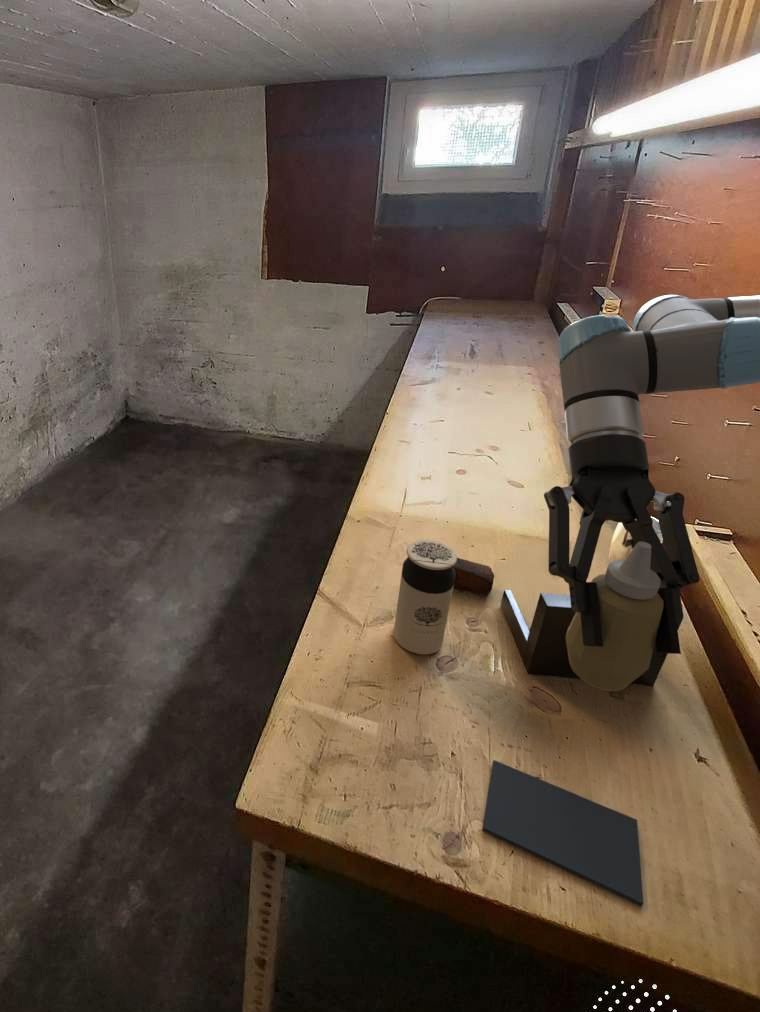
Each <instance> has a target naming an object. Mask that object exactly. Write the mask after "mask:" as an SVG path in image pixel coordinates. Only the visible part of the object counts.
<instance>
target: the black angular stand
mask: <svg viewBox="0 0 760 1012" xmlns="http://www.w3.org/2000/svg"><path fill="white" fill-rule="evenodd" d="M539 593H540V594H539V597H538V600H537V603H536V607H535V611H534V614H533V618H532V621H531V625H530V628H529V627H528V625H527V623H526V619H525V618H524V616H523V614H522V611H521V609H520V608H519V607H520V606H519V605H518V602H517V600H516V598H515V596H514V593H513V591H512V589H504V590H503V593H502V597H501V601H500V605H499V608H500V610H501V612H502V615H503V617H504V620H505V622H506V625H507V627H508V630H509V632H510V635H511V637H512V640H513V642H514V645H515V647H516V649H517V652H518V654H519V657H520V660H521V662H522V664H523V666H524V669H525V672H526V674H527V675H533V676H542V677H554V678H563V679H574V680H582V679H581V678H579V677H578V676H577V674H576V673H575V672H574V671H573V670H572V668H571V665H570V663H569V657H568V651H567V644H566V634H567V630H568V628H569V626H570V624H571V622H572V620H573V618H574V616H575V614H576V612H573V610H572V608H571V601H570V594H562V593H549V592H539ZM683 620H684V616H683V619H682V620H680V621H676V624H677V631H679V629H680V627H681V624H682V623H683ZM668 654H669V653H657V648H656V641H655V645H654V649H653V653H652V657H651V661H650V665H649V669H648V670H646V671H645V672H644V673H643V674H642V675H641V676H639V677H638V678H637V679H635V680H634V681H633V682H632V683H630V684H629V685H634V686H643V687H644V686H646V687H654V686H655V684H656V683H657V679H658V677H659V675H660V672H661V670H662V668H663V665H664V663H665V661H666V658H667V656H668Z"/></svg>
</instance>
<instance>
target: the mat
mask: <svg viewBox="0 0 760 1012" xmlns="http://www.w3.org/2000/svg"><path fill="white" fill-rule="evenodd" d="M486 798H487V799H486V805H485V811H484V817H483V823H482V828H481V829H482V832H485V833H487V834H489V835H491V836H492V837H495V838H498V839H499V840H502V841H503V842H506V843H508V844H510V845H512V846H514V847H516V848H518V849H521V850H523V851H524V852H526V853H529V854H531V855H533V856H535V857H537V858H539V859H541V860H543V861H546V862H547V863H550V864H552V865H553V866H556V867H559V868H561V869H562V870H565V871H566V872H569V873H571V874H573V875H575V876H576V877H579V878H581V879H583V880H585V881H587V882H590V883H591V884H593V885H596V886H598V887H600V888H602V889H604V890H606V891H608V892H611V893H612V894H615V895H617V896H619V897H621V898H623V899H625V900H628V901H629V902H632V903H634V904H636V905H638V906H640V907H642V906H643V905H644V894H643V893H644V892H643V881H642V868H641V855H640V840H639V828H638V820H637V819H636V818H633V817H631V816H630V815H627V814H625V813H621V812H619V811H617V810H614V809H613V808H609V807H607V806H605V805H603V804H600V803H598V802H595V801H593V800H591V799H588V798H586V797H584V796H581V795H578V794H576V793H575V792H571V791H569V790H566V789H564V788H562V787H559V786H558V785H555V784H552V783H550V782H548V781H545V780H543V779H541V778H538V777H535V776H533V775H531V774H528V773H527V772H524V771H521V770H519V769H517V768H514V767H511V766H509V765H507V764H504V763H502V762H500V761H498V760H495V759H493V761H492V765H491V773H490V778H489V785H488V792H487V797H486Z"/></svg>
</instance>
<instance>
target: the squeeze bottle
mask: <svg viewBox="0 0 760 1012" xmlns="http://www.w3.org/2000/svg"><path fill="white" fill-rule="evenodd" d="M650 562H651V545H650V544H648V543H646V542H638V543H637V544H636V546H635V547H634V548H633V550H632V551H631V552H630V554H629V555H628V556H627V558H626V559H625V560H618V561H613V562H611V563H610V564H609V563H608V564H607V567H606V570H605V573H602V574H598V575H596V576H595V577H594V578H592V580H591V581H590V582H595V583H597V592H598V601H599V610H600V619H601V629H602V638H603V647H602V646H584V645H583V636H582V626H581V615H580V613H578V612H576V614H575V616H574V618H573V620H572V622H571V624H570V626H569V628H568V630H567V634H566V644H567V651H568V657H569V663H570V665H571V668H572V670H573V671H574V672H575V673H576V674H577V676H578V677H579V678H581V679H580V680H581V681H583V682H585V683H587V684H588V685H589V686H592V687H595V688H598V689H600V690H602V691H603V690H604V691H611V692H615V691H621V690H624V689H625V688H626V687H628V686H629V685H631V684H630V683H632V682H633V681H634V680H635V679H637V678H638V677H639V676H641V675H642V674H643V673H644V672H645V671H646V670H648V669H649V665H650V661H651V657H652V653H653V649H654V645H655V640H656V636H657V632H658V628H659V624H660V620H661V616H662V611H663V603H664V601H663V599H662V598H661V596H660V595H659V593H658V589H659V587H660V582H661V579H660V578H659V577H658V575H657V574H656V573H655V572H654V571H652V570H651V569H650Z"/></svg>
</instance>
